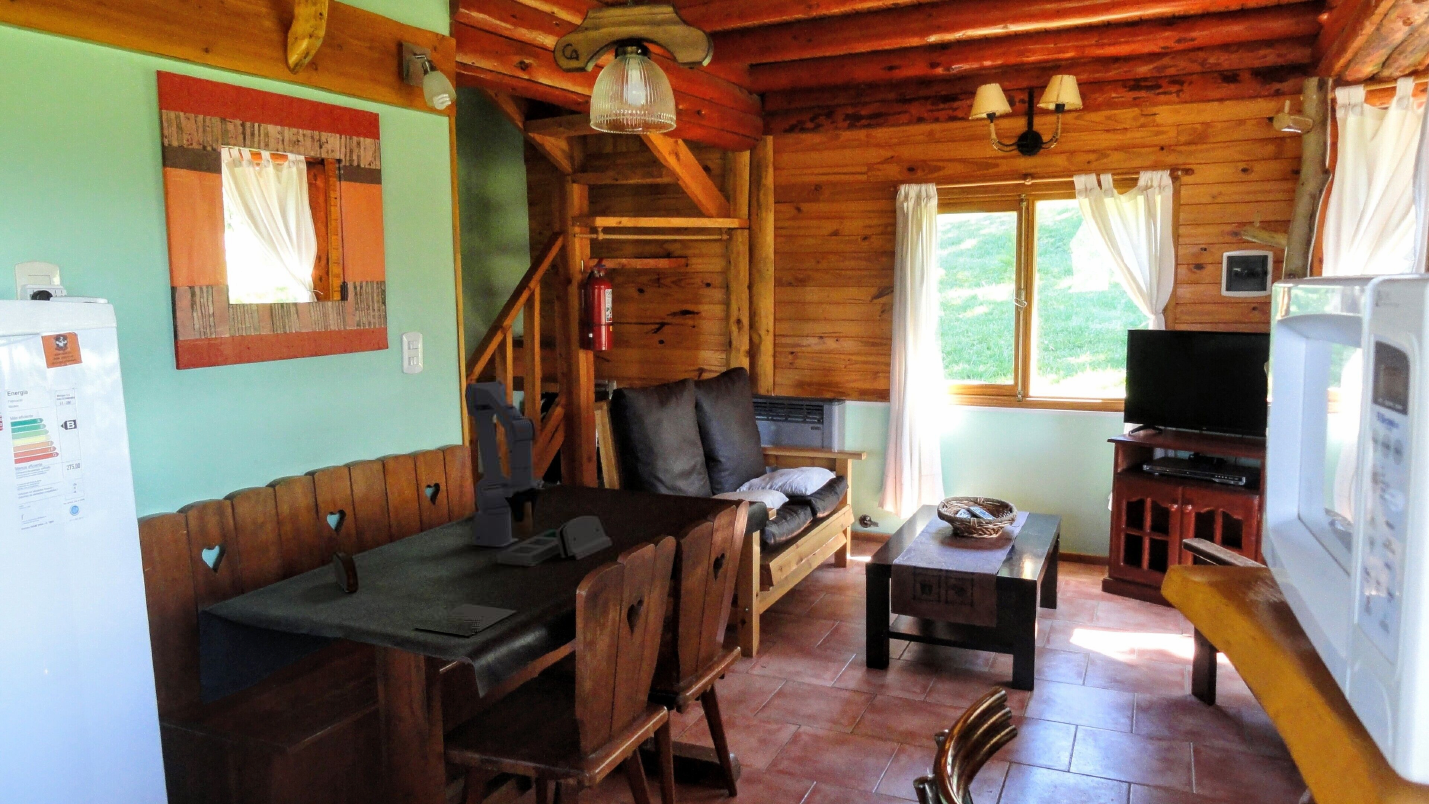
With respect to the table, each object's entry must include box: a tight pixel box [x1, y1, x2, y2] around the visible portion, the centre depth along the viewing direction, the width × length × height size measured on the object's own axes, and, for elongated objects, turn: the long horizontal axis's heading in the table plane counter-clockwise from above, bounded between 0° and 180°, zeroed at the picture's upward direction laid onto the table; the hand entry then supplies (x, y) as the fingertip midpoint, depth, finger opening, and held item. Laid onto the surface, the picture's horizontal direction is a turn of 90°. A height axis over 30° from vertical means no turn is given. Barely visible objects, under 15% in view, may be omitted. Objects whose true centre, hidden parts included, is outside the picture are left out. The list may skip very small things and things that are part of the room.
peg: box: [515, 500, 533, 536], centre depth 250 cm, size 4×4×8 cm
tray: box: [496, 528, 560, 567], centre depth 258 cm, size 10×26×2 cm, turn 159°
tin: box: [331, 548, 359, 592], centre depth 230 cm, size 15×3×8 cm, turn 32°
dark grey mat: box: [445, 603, 517, 635], centre depth 210 cm, size 23×25×1 cm
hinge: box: [556, 515, 613, 560], centre depth 258 cm, size 17×5×10 cm, turn 153°
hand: (523, 519), depth 250 cm, fingers closed on peg, 4 cm apart
